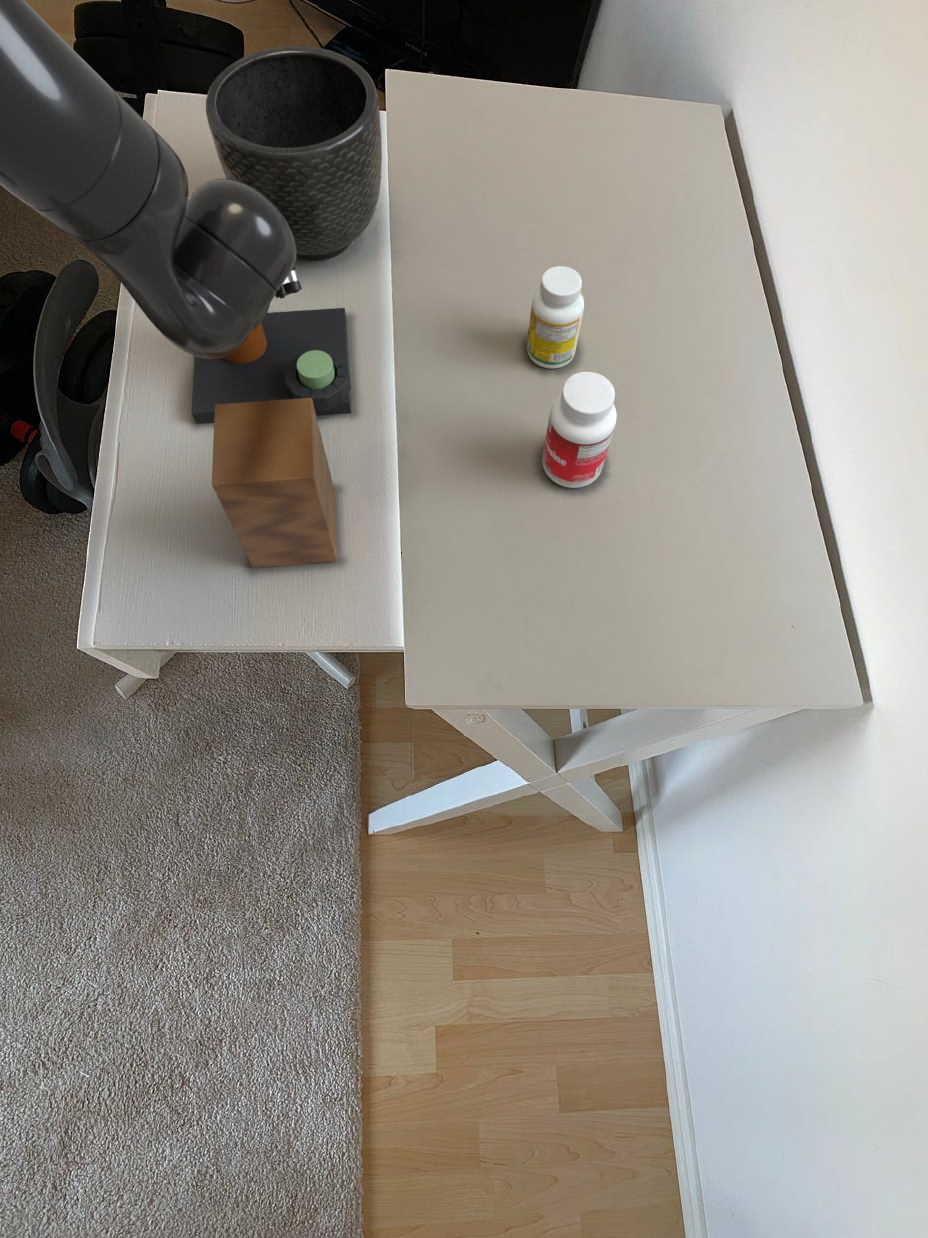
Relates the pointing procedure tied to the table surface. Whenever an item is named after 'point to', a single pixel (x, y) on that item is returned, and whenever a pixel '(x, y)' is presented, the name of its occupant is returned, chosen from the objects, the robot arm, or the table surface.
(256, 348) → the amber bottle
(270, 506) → the oak stand
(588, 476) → the pill bottle
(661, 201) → the table surface
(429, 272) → the table surface
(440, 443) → the table surface
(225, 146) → the planter
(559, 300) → the supplement bottle
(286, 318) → the scale
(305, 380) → the button
